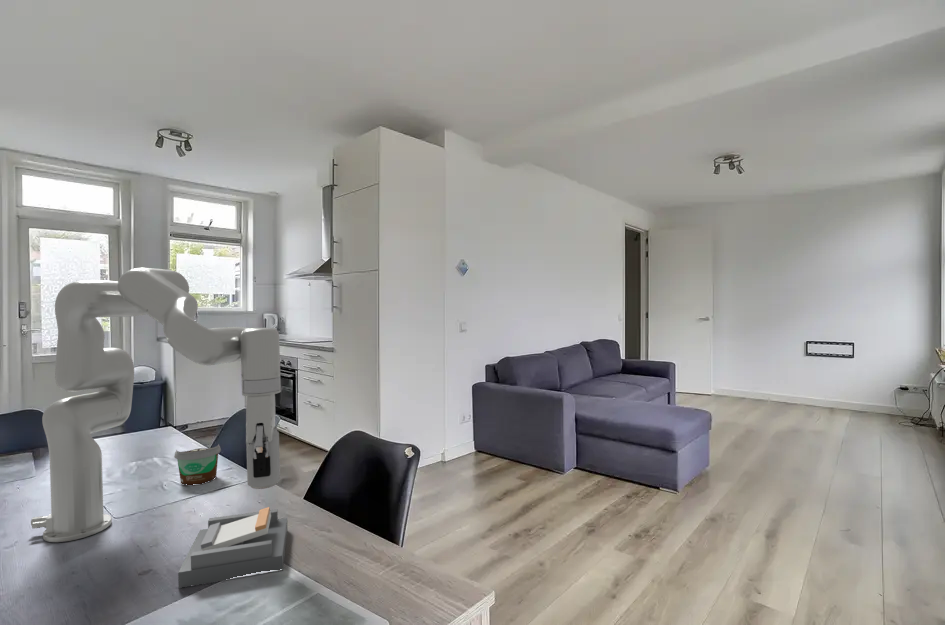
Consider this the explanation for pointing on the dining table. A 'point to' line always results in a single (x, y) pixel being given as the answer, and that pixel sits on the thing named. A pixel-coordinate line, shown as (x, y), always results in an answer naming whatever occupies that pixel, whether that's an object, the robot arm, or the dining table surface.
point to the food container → (197, 465)
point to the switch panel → (235, 554)
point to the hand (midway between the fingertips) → (263, 470)
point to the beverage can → (274, 464)
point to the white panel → (237, 531)
